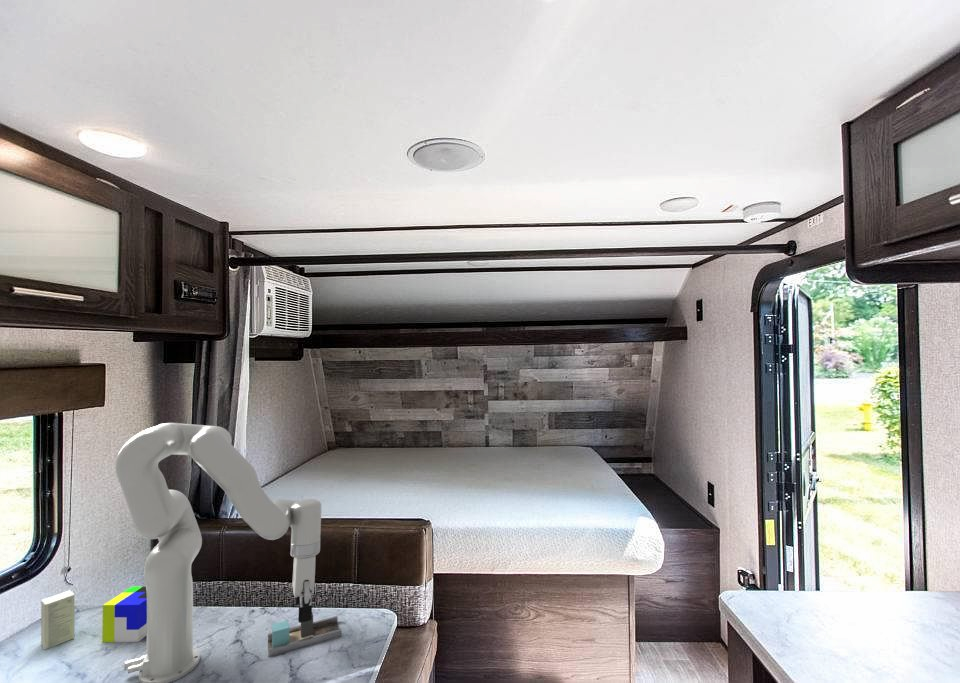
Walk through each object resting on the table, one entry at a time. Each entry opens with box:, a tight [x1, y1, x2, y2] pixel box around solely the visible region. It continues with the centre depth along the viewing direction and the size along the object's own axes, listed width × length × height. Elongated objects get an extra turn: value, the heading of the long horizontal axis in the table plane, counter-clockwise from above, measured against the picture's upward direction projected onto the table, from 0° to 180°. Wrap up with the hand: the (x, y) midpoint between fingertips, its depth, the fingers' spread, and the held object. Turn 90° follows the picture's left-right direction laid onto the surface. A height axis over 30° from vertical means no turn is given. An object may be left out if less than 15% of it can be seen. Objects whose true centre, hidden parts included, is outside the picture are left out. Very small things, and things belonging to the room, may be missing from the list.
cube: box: [271, 619, 290, 647], centre depth 119 cm, size 4×4×4 cm
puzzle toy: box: [101, 586, 147, 643], centre depth 128 cm, size 10×10×10 cm
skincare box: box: [40, 589, 75, 650], centre depth 124 cm, size 6×4×12 cm
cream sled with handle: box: [271, 612, 314, 647], centre depth 121 cm, size 10×6×6 cm, turn 116°
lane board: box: [267, 615, 343, 658], centre depth 122 cm, size 18×8×2 cm, turn 116°
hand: (303, 611), depth 122 cm, fingers open, 9 cm apart
